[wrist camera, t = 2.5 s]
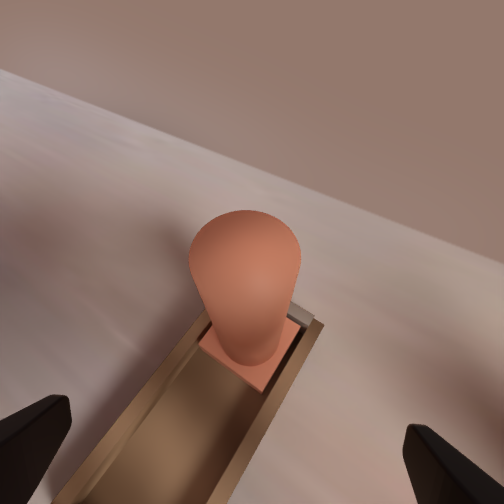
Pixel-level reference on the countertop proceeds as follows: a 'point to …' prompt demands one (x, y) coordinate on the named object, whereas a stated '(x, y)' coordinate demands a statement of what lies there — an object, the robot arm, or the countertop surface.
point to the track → (188, 428)
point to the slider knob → (247, 291)
